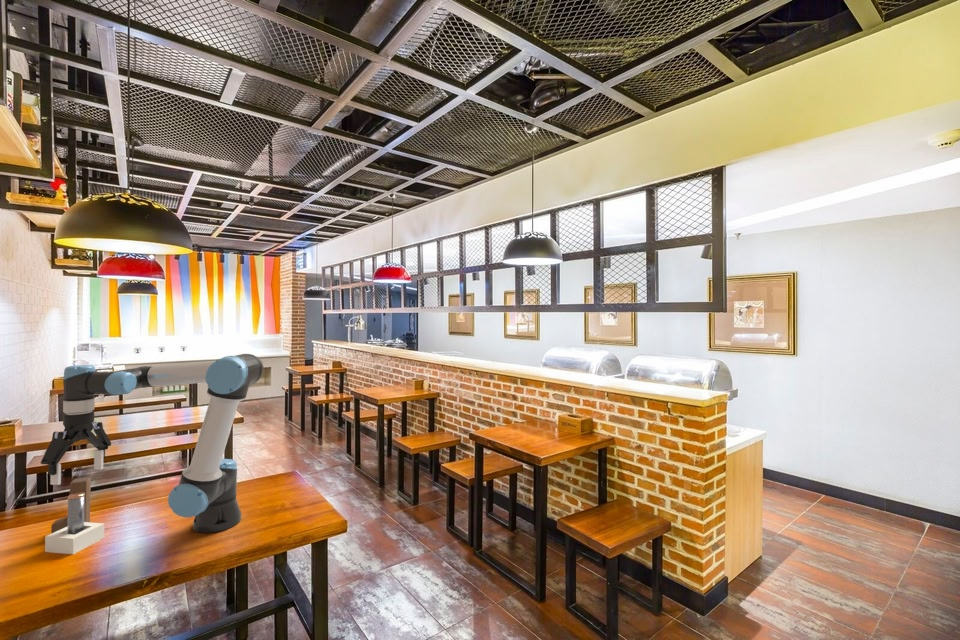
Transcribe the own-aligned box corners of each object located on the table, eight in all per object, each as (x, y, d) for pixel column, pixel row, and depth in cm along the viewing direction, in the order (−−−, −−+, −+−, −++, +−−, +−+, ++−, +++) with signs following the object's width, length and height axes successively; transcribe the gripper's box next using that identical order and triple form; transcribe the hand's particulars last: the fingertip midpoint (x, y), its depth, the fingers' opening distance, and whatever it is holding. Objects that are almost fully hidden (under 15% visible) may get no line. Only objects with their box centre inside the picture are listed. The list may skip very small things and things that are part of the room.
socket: (104, 538, 144) (104, 523, 144) (73, 554, 134) (73, 538, 134) (77, 536, 145) (78, 521, 145) (45, 552, 135) (45, 536, 135)
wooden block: (50, 538, 143) (51, 485, 143) (56, 531, 147) (57, 480, 147) (85, 532, 147) (86, 480, 147) (90, 526, 151) (91, 476, 151)
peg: (76, 541, 142) (77, 491, 141) (87, 542, 141) (88, 492, 141) (63, 547, 137) (64, 496, 137) (74, 548, 137) (75, 497, 137)
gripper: (105, 404, 152) (104, 462, 152) (24, 420, 127) (23, 490, 127) (124, 405, 151) (123, 463, 151) (46, 421, 127) (46, 492, 127)
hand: (78, 476), depth 139 cm, fingers open, 13 cm apart
